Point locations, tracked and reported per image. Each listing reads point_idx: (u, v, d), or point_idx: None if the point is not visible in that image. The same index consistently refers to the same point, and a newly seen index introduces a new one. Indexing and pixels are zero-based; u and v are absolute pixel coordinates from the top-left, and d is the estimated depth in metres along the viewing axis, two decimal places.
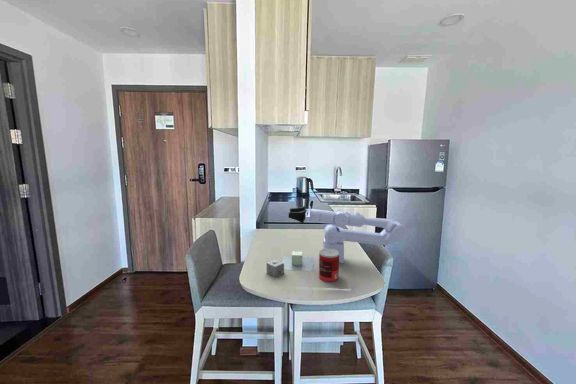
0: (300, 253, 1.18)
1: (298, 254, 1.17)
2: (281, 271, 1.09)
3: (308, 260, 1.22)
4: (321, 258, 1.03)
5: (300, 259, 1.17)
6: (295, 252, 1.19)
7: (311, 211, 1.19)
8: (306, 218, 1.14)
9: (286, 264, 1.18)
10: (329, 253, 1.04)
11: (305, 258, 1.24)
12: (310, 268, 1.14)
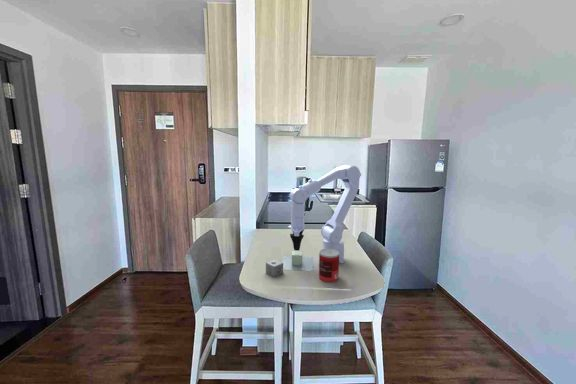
0: (300, 253, 1.18)
1: (298, 254, 1.17)
2: (280, 271, 1.09)
3: (308, 260, 1.22)
4: (321, 258, 1.03)
5: (300, 259, 1.17)
6: (295, 252, 1.19)
7: (292, 226, 1.15)
8: (296, 234, 1.10)
9: (286, 264, 1.18)
10: (329, 253, 1.04)
11: (305, 258, 1.24)
12: (310, 268, 1.14)
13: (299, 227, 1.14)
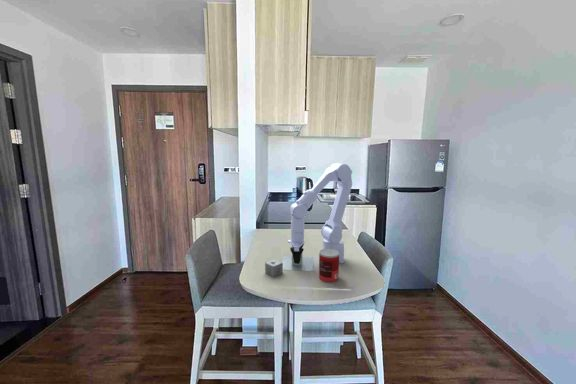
0: None
1: None
2: (280, 271, 1.09)
3: (308, 260, 1.22)
4: (321, 258, 1.03)
5: (300, 259, 1.17)
6: None
7: (292, 240, 1.16)
8: (296, 250, 1.11)
9: (286, 264, 1.18)
10: (329, 253, 1.04)
11: (305, 258, 1.24)
12: (310, 268, 1.14)
13: (299, 242, 1.15)
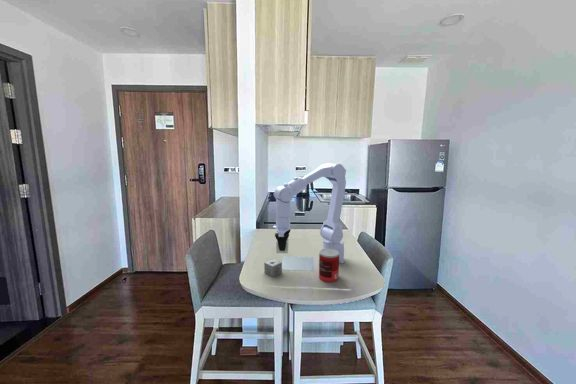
0: None
1: None
2: (279, 271, 1.09)
3: (308, 260, 1.22)
4: (321, 258, 1.03)
5: None
6: None
7: (277, 226, 1.08)
8: (280, 235, 1.03)
9: (286, 264, 1.18)
10: (329, 253, 1.04)
11: (305, 258, 1.24)
12: (310, 268, 1.14)
13: (284, 227, 1.07)
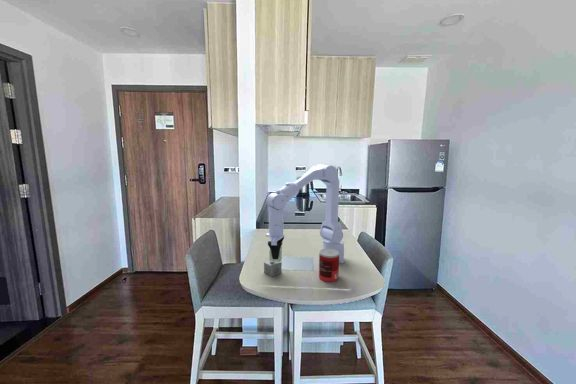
0: None
1: None
2: (278, 271, 1.09)
3: (308, 260, 1.22)
4: (321, 258, 1.03)
5: None
6: None
7: (270, 234, 1.06)
8: (273, 243, 1.01)
9: (286, 264, 1.18)
10: (329, 253, 1.04)
11: (305, 258, 1.24)
12: (310, 268, 1.14)
13: (277, 235, 1.05)
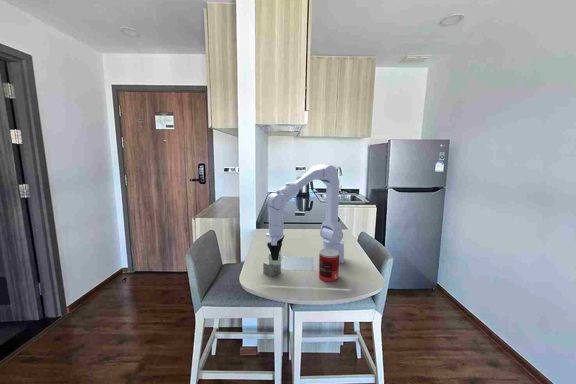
0: None
1: None
2: (278, 271, 1.09)
3: (308, 260, 1.22)
4: (321, 258, 1.03)
5: (278, 258, 1.07)
6: None
7: (270, 234, 1.06)
8: (273, 243, 1.01)
9: (286, 264, 1.18)
10: (329, 253, 1.04)
11: (305, 258, 1.24)
12: (310, 268, 1.14)
13: (277, 235, 1.05)
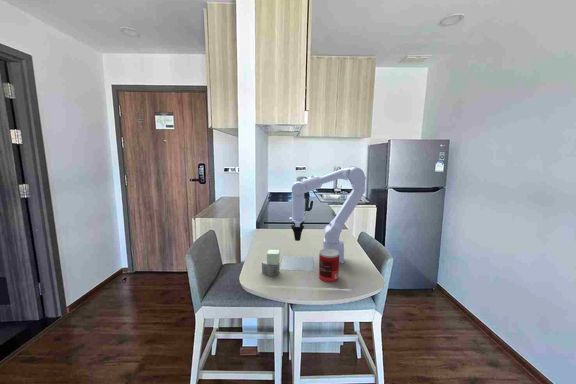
0: (276, 251, 1.09)
1: (273, 253, 1.07)
2: (276, 271, 1.09)
3: (308, 260, 1.22)
4: (321, 258, 1.03)
5: (276, 258, 1.07)
6: (271, 250, 1.10)
7: (293, 217, 1.20)
8: (296, 225, 1.15)
9: (286, 264, 1.18)
10: (329, 253, 1.04)
11: (305, 258, 1.24)
12: (310, 268, 1.14)
13: (300, 218, 1.19)
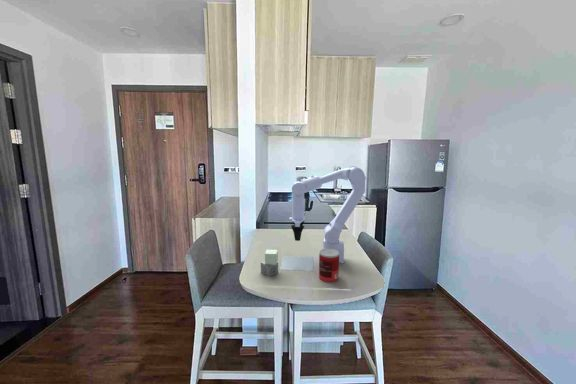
0: (274, 251, 1.09)
1: (271, 253, 1.07)
2: (275, 271, 1.09)
3: (308, 260, 1.22)
4: (321, 258, 1.03)
5: (274, 258, 1.07)
6: (269, 250, 1.10)
7: (293, 217, 1.20)
8: (296, 225, 1.15)
9: (286, 264, 1.18)
10: (329, 253, 1.04)
11: (305, 258, 1.24)
12: (310, 268, 1.14)
13: (300, 218, 1.19)
